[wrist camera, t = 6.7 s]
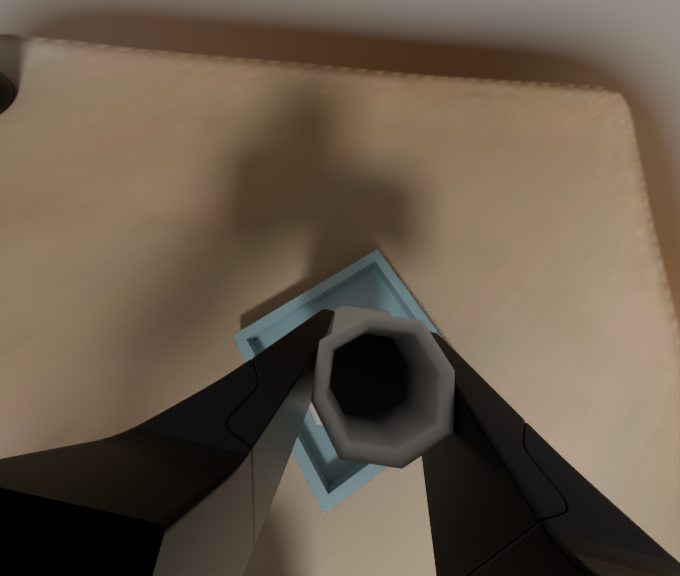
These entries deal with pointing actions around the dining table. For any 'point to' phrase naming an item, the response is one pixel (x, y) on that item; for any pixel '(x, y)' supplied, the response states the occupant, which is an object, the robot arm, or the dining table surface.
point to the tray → (340, 289)
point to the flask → (382, 388)
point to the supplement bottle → (5, 91)
